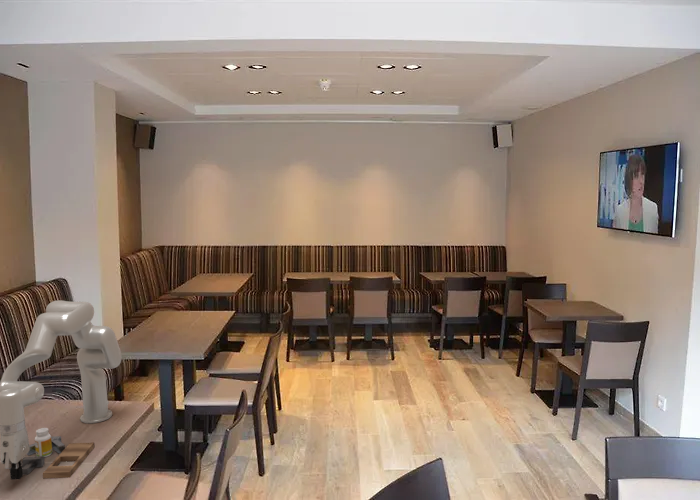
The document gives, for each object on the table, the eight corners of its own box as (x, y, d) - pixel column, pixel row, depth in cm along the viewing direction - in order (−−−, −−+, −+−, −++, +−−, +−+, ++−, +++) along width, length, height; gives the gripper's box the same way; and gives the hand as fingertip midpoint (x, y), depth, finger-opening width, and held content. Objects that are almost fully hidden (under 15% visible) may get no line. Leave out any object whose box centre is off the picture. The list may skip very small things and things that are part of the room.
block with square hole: (70, 448, 220) (69, 443, 219) (94, 447, 220) (94, 442, 220) (43, 478, 198) (42, 473, 198) (70, 477, 198) (69, 471, 198)
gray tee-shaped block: (24, 464, 207) (23, 457, 207) (44, 464, 208) (44, 456, 207) (14, 475, 200) (13, 466, 200) (35, 474, 201) (34, 466, 200)
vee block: (36, 444, 223) (35, 437, 223) (73, 443, 224) (73, 435, 223) (24, 455, 214) (23, 448, 214) (63, 454, 215) (63, 446, 215)
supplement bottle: (55, 451, 218) (53, 426, 216) (48, 458, 212) (46, 432, 211) (40, 451, 217) (38, 426, 216) (33, 458, 212) (31, 433, 211)
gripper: (12, 435, 186) (16, 489, 188) (34, 416, 200) (38, 466, 203) (-12, 436, 185) (-7, 490, 187) (12, 417, 200) (16, 467, 202)
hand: (16, 478), depth 195 cm, fingers closed
